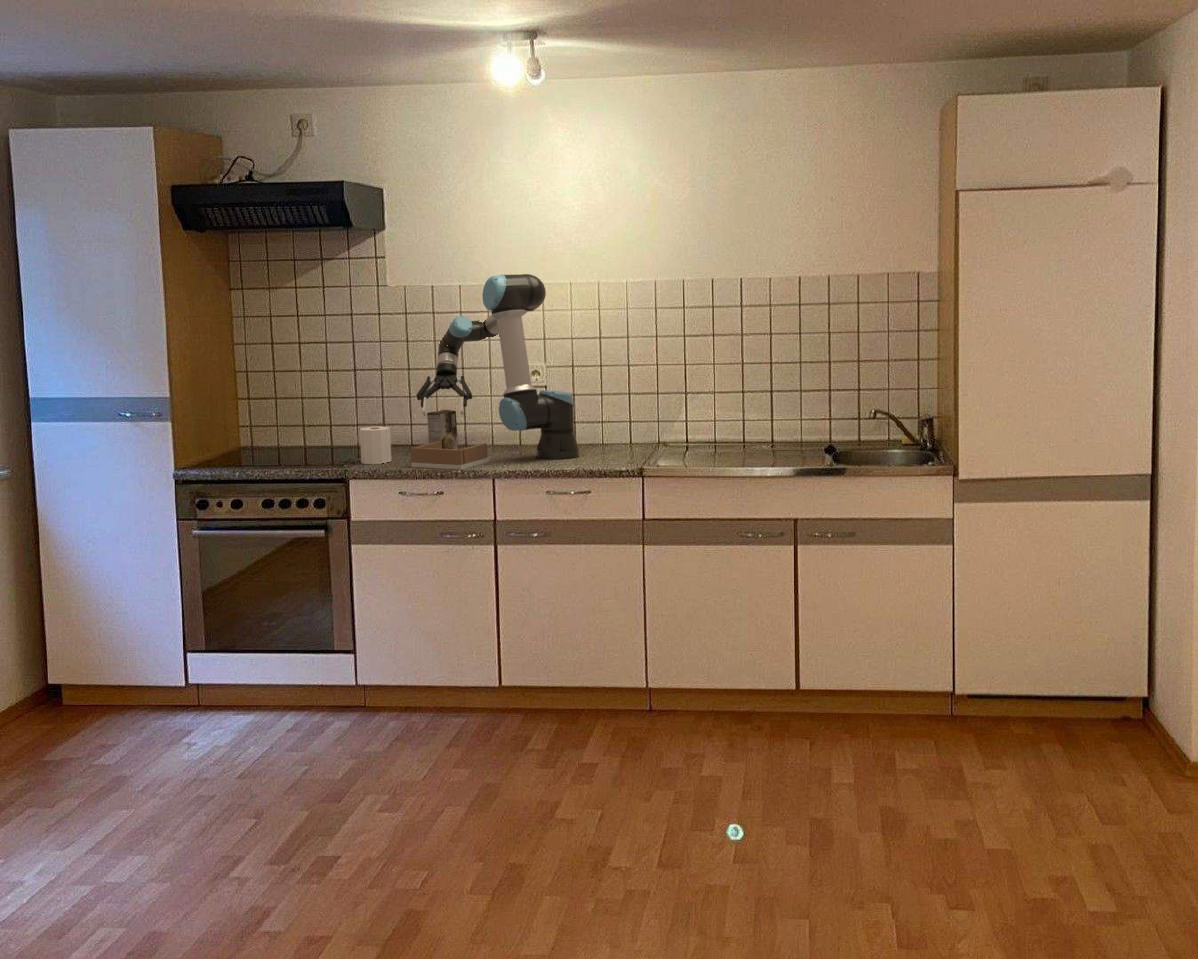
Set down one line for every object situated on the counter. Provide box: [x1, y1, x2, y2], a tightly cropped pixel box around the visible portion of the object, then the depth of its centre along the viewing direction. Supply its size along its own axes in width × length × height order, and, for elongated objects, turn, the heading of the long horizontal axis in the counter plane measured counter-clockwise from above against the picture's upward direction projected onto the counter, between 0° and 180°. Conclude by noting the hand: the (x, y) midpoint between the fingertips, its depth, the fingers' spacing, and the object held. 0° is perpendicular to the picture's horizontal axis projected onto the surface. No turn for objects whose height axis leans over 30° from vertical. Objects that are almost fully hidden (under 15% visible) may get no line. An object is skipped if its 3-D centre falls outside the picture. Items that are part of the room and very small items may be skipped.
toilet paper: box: [359, 426, 392, 465], centre depth 513 cm, size 10×10×12 cm
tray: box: [410, 441, 490, 470], centre depth 504 cm, size 20×18×6 cm
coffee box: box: [426, 409, 459, 450], centre depth 524 cm, size 9×6×16 cm
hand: (442, 413), depth 530 cm, fingers open, 13 cm apart
